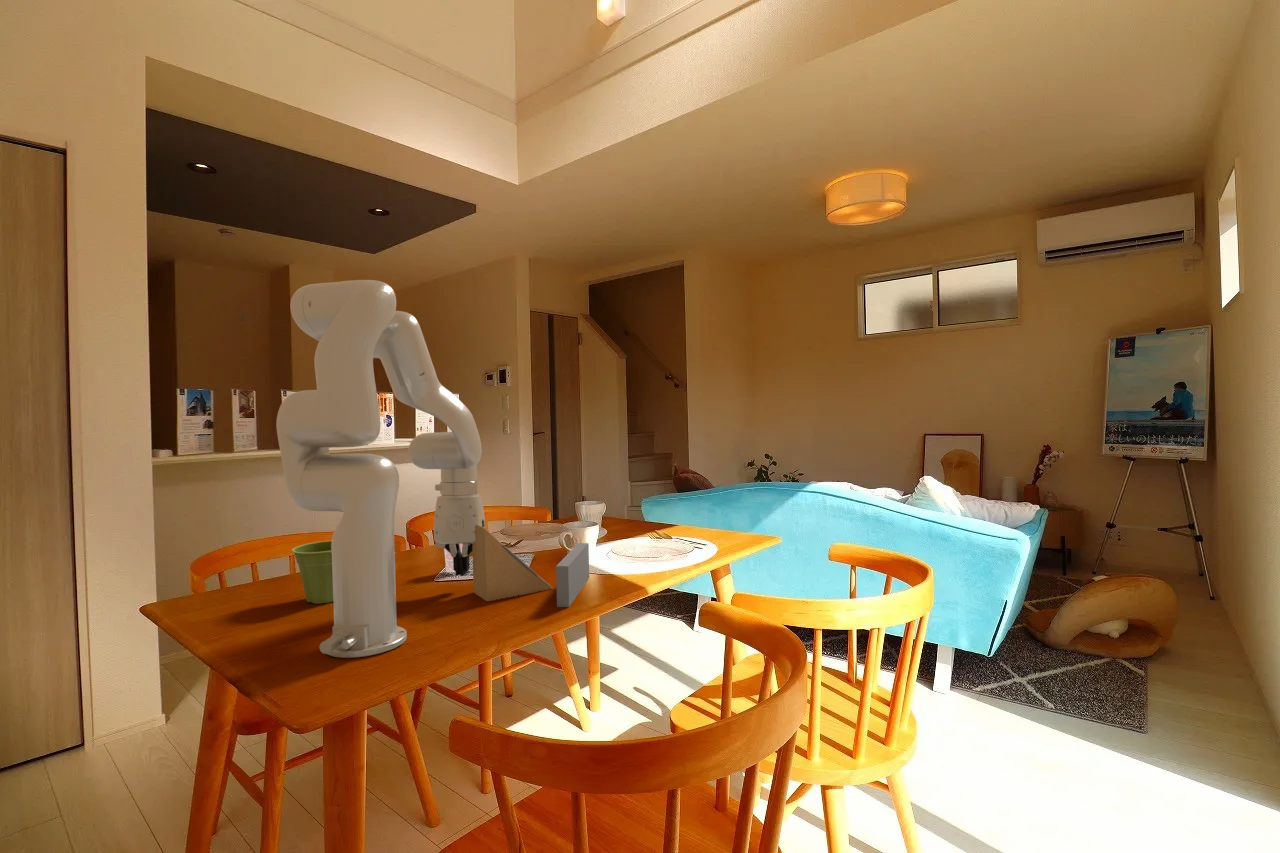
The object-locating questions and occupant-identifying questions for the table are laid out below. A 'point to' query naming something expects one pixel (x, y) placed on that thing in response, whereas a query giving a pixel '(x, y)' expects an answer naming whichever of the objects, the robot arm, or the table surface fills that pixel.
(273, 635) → the table surface
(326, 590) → the plant pot
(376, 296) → the robot arm
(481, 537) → the beige triangular wedge
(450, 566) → the beverage cup
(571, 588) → the board
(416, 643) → the table surface
